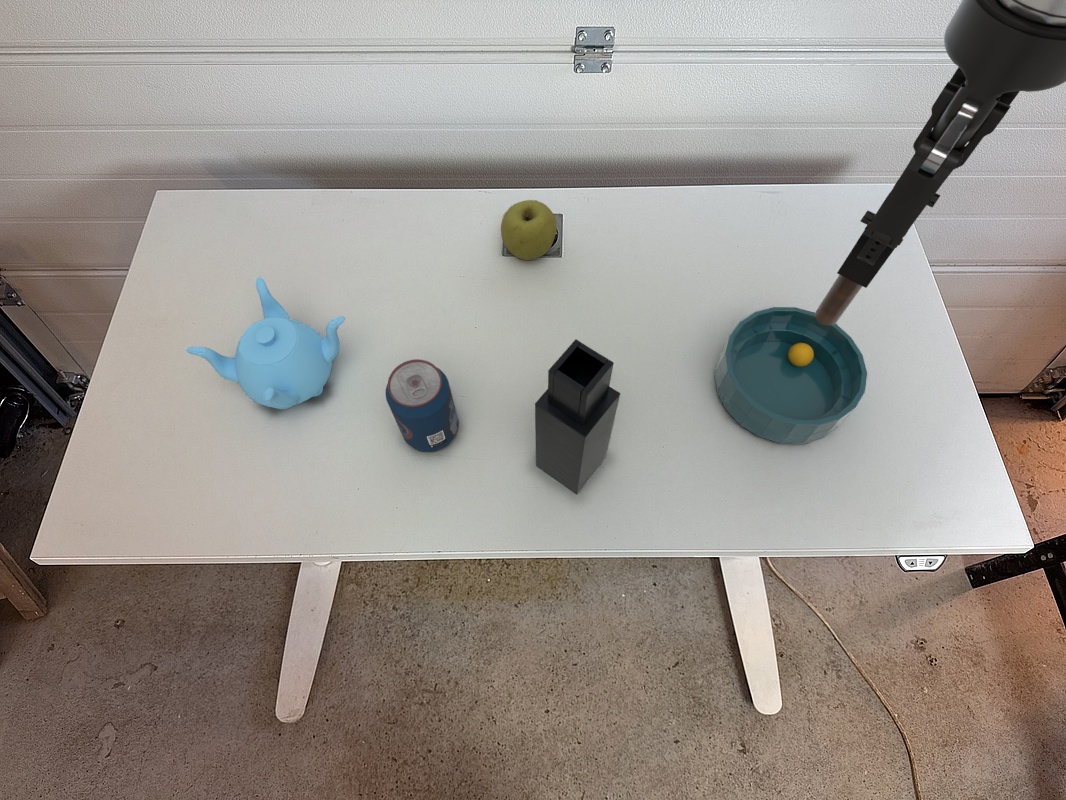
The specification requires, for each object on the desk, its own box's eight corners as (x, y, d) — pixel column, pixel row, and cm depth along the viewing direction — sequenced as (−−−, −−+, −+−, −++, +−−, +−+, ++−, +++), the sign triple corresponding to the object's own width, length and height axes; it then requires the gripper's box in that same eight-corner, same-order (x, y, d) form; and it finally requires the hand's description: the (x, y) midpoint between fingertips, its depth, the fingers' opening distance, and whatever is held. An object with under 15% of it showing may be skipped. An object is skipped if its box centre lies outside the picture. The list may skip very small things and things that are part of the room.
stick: (831, 329, 61) (918, 208, 47) (810, 318, 62) (890, 195, 48) (841, 314, 62) (929, 191, 48) (820, 303, 63) (901, 178, 49)
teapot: (222, 391, 81) (182, 349, 72) (291, 318, 86) (262, 270, 77) (298, 439, 77) (266, 401, 68) (366, 360, 83) (345, 315, 74)
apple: (491, 256, 91) (488, 220, 84) (523, 220, 94) (521, 183, 87) (536, 279, 89) (535, 244, 82) (566, 242, 92) (568, 205, 85)
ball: (802, 375, 80) (810, 362, 77) (780, 362, 81) (788, 350, 78) (812, 359, 81) (821, 346, 78) (791, 347, 82) (799, 334, 79)
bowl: (809, 471, 75) (829, 451, 69) (689, 398, 79) (700, 374, 74) (866, 376, 81) (889, 351, 75) (752, 313, 85) (766, 285, 80)
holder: (576, 494, 74) (589, 408, 54) (535, 465, 75) (533, 372, 56) (605, 456, 76) (628, 360, 56) (565, 429, 78) (573, 327, 58)
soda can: (395, 417, 79) (373, 368, 68) (448, 397, 80) (434, 345, 69) (414, 465, 76) (393, 420, 65) (468, 443, 77) (456, 396, 66)
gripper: (1026, -93, 39) (856, 197, 59) (931, 31, 33) (780, 303, 54) (1160, -53, 36) (934, 234, 57) (1082, 87, 31) (864, 348, 52)
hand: (860, 267), depth 55 cm, fingers closed on stick, 2 cm apart
